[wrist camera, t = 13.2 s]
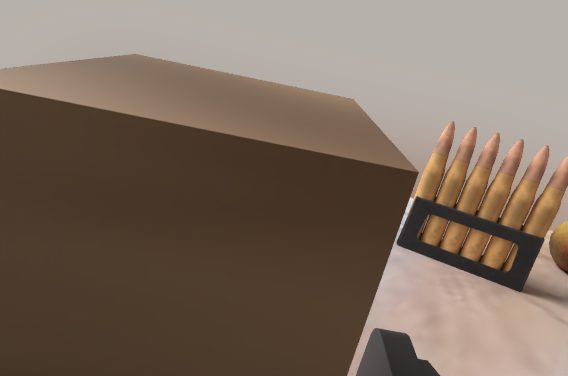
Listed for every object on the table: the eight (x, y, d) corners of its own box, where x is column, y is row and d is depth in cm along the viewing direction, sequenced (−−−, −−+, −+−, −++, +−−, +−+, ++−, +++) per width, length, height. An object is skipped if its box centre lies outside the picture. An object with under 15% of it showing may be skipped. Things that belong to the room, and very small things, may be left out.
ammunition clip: (395, 244, 35) (440, 119, 31) (398, 237, 37) (441, 117, 32) (521, 292, 32) (592, 158, 27) (518, 281, 33) (585, 153, 29)
